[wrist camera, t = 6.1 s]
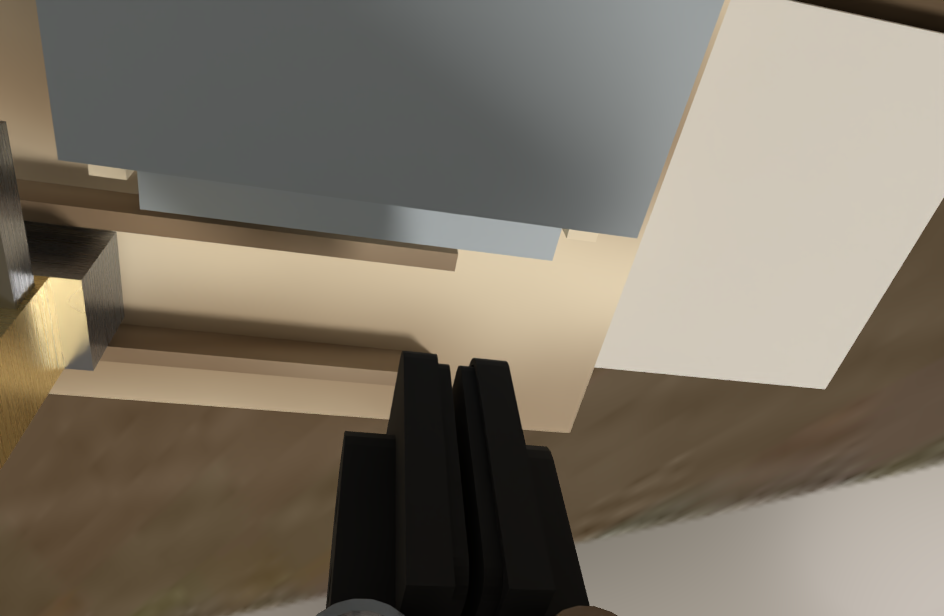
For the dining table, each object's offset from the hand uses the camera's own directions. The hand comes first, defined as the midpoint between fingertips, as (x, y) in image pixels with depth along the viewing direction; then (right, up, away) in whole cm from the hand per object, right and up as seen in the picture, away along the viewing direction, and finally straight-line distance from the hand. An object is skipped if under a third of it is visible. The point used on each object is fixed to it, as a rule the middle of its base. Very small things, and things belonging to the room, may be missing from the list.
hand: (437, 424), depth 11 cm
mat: (+9, +4, +8) cm, 13 cm away
